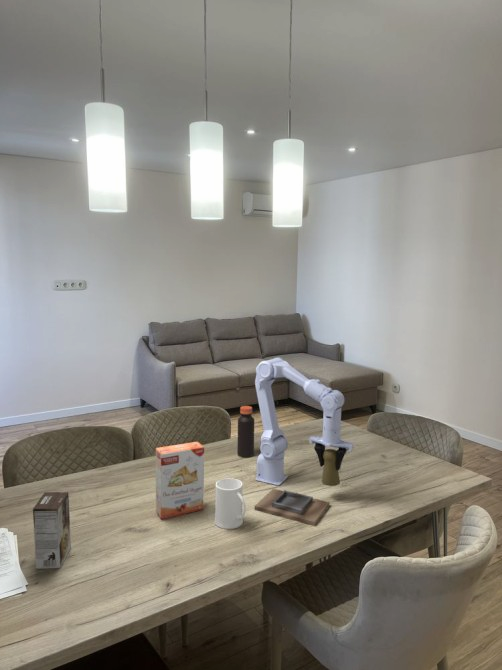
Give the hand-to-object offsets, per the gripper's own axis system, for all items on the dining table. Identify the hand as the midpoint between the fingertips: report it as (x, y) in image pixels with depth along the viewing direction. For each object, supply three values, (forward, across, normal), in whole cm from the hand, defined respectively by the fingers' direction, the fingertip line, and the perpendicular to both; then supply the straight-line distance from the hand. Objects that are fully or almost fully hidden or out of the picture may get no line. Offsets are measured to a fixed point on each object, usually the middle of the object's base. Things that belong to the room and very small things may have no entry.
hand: (330, 467), depth 158 cm
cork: (+5, 0, 0) cm, 5 cm away
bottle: (+11, -42, +19) cm, 47 cm away
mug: (+11, -20, -31) cm, 38 cm away
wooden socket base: (+10, -8, -13) cm, 18 cm away
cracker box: (+11, -38, -32) cm, 51 cm away
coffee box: (+11, -52, -68) cm, 86 cm away
